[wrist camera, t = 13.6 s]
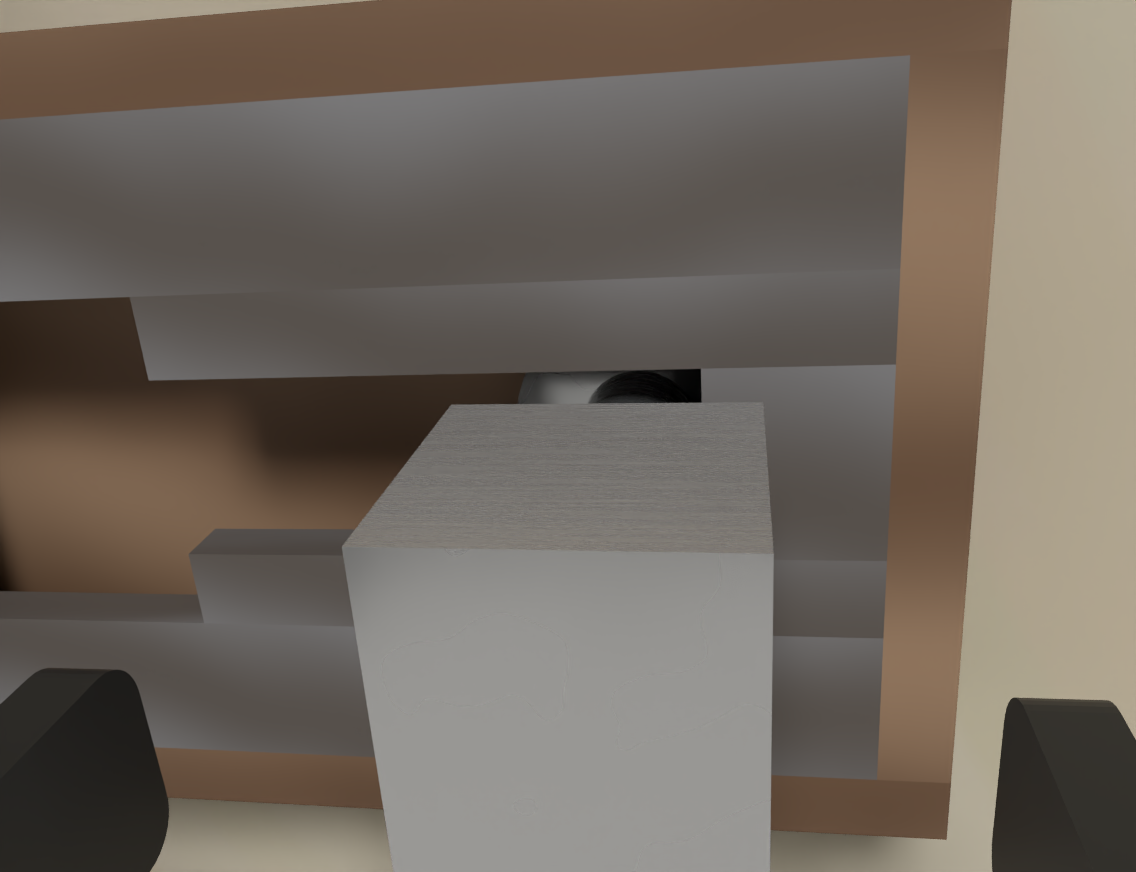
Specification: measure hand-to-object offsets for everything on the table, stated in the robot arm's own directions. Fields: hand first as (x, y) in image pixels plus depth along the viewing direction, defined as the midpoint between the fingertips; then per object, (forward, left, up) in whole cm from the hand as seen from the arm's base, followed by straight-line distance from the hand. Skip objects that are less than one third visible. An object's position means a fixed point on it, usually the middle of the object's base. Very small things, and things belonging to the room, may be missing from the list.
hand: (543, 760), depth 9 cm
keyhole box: (0, -6, -11) cm, 13 cm away
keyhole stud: (0, 0, -10) cm, 10 cm away
